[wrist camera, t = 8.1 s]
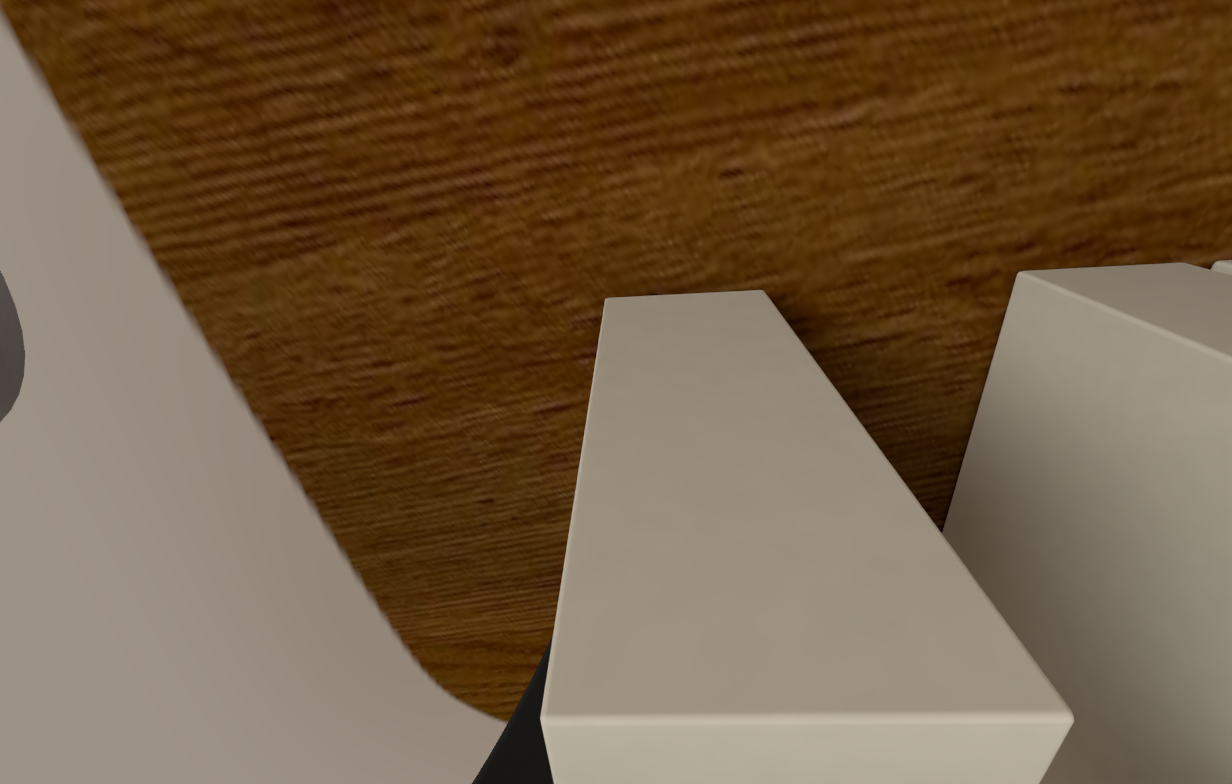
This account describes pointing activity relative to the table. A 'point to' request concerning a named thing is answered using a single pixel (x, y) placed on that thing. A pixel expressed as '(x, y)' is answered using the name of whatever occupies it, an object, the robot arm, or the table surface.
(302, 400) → the table surface
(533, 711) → the robot arm
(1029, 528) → the white book
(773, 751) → the white book
